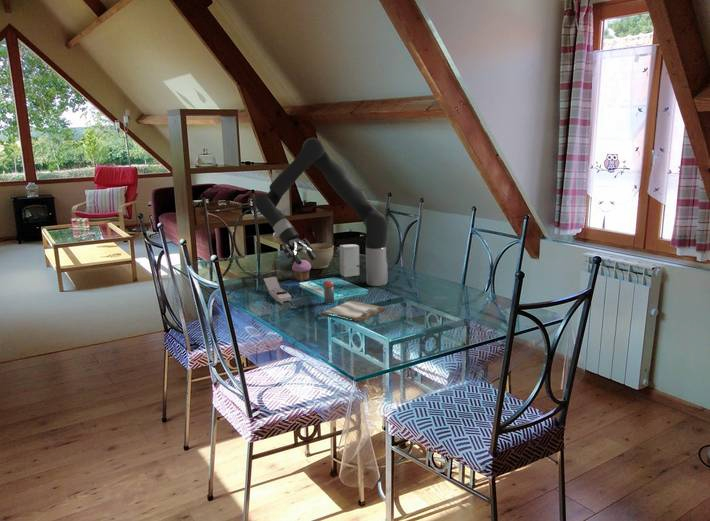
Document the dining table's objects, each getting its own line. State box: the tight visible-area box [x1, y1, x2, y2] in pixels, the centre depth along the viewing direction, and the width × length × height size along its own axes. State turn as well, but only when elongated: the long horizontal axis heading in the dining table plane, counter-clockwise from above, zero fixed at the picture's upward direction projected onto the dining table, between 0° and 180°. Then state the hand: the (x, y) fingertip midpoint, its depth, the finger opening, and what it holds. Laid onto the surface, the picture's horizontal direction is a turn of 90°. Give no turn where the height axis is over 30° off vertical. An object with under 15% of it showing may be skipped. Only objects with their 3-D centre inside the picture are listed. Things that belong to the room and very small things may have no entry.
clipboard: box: [321, 300, 387, 323], centre depth 231 cm, size 18×18×2 cm
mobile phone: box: [263, 276, 292, 305], centre depth 255 cm, size 6×6×25 cm
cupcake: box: [291, 259, 312, 282], centre depth 279 cm, size 9×9×10 cm
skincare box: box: [339, 243, 360, 278], centre depth 285 cm, size 8×6×15 cm
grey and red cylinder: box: [323, 280, 335, 304], centre depth 243 cm, size 4×4×9 cm
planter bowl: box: [302, 243, 335, 270], centre depth 304 cm, size 16×16×11 cm
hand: (307, 261), depth 247 cm, fingers open, 8 cm apart
